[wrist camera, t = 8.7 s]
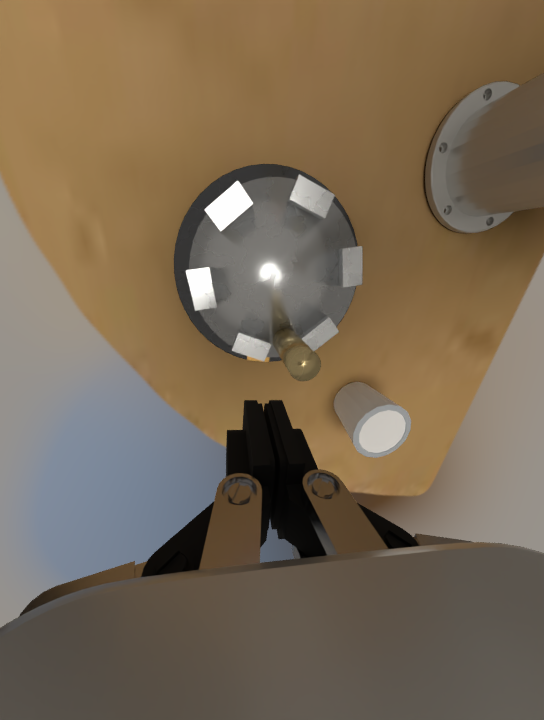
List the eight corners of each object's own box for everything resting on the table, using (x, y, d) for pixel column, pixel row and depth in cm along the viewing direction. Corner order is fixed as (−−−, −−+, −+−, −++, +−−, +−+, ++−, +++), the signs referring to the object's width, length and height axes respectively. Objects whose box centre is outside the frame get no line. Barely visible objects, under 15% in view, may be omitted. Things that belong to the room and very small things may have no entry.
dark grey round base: (370, 196, 27) (382, 191, 25) (327, 362, 33) (335, 369, 31) (183, 146, 23) (179, 136, 21) (172, 346, 29) (168, 353, 27)
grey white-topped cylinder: (346, 369, 34) (375, 396, 28) (387, 387, 36) (423, 416, 30) (319, 414, 36) (341, 449, 29) (360, 429, 38) (389, 464, 31)
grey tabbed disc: (173, 194, 22) (146, 157, 14) (343, 176, 24) (410, 135, 16) (210, 360, 28) (207, 405, 19) (346, 335, 30) (397, 367, 21)
